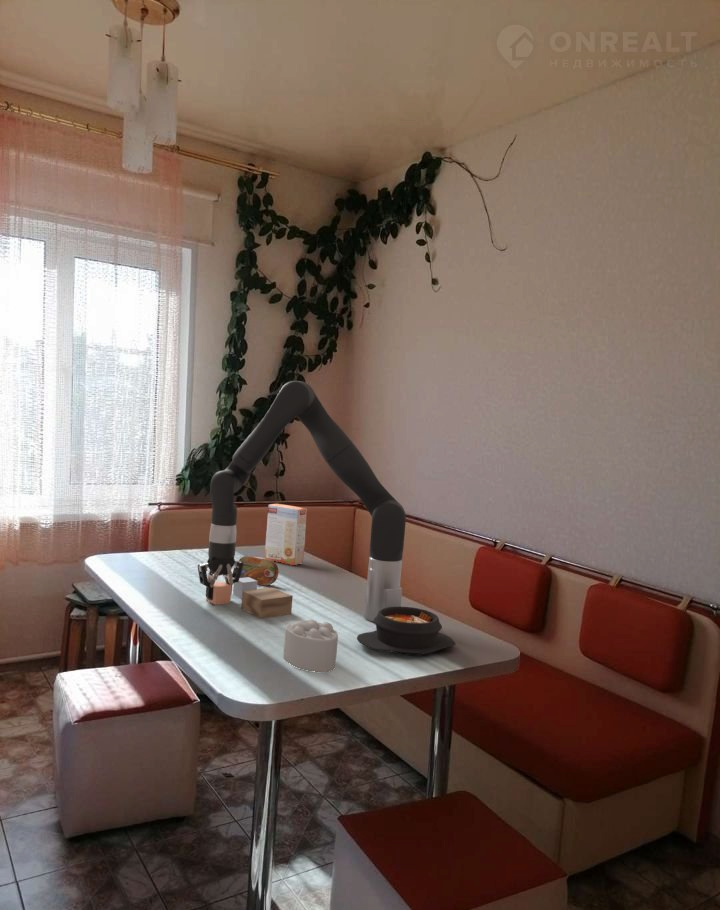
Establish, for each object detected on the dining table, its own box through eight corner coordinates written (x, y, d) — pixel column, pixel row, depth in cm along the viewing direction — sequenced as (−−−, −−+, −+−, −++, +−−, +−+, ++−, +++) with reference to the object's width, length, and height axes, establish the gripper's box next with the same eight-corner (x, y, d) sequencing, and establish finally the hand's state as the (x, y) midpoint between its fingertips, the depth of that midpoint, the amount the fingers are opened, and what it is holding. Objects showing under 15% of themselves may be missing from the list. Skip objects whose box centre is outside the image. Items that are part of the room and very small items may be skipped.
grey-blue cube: (256, 597, 212) (257, 580, 211) (241, 599, 208) (243, 582, 208) (247, 593, 215) (248, 577, 215) (232, 595, 212) (234, 578, 212)
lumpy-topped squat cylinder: (316, 650, 169) (318, 614, 169) (346, 668, 159) (349, 630, 158) (277, 656, 163) (280, 619, 163) (306, 675, 153) (309, 636, 152)
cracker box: (303, 564, 261) (308, 508, 260) (293, 566, 256) (298, 509, 255) (274, 557, 269) (278, 502, 267) (263, 559, 263) (267, 503, 262)
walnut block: (291, 613, 197) (292, 595, 197) (260, 618, 191) (262, 600, 190) (271, 604, 205) (272, 587, 205) (241, 608, 198) (242, 591, 198)
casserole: (433, 633, 190) (436, 602, 189) (468, 658, 172) (471, 624, 172) (345, 637, 180) (348, 605, 180) (373, 663, 163) (376, 628, 163)
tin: (234, 579, 231) (236, 554, 230) (240, 578, 234) (242, 552, 233) (273, 588, 224) (275, 561, 223) (278, 586, 227) (280, 560, 226)
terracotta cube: (230, 602, 203) (231, 585, 203) (215, 604, 200) (216, 587, 200) (221, 598, 207) (222, 581, 207) (206, 600, 204) (207, 583, 204)
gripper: (206, 543, 195) (202, 604, 196) (251, 540, 205) (247, 598, 206) (193, 538, 201) (189, 598, 202) (237, 535, 210) (233, 592, 211)
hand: (218, 598), depth 204 cm, fingers closed on terracotta cube, 5 cm apart
